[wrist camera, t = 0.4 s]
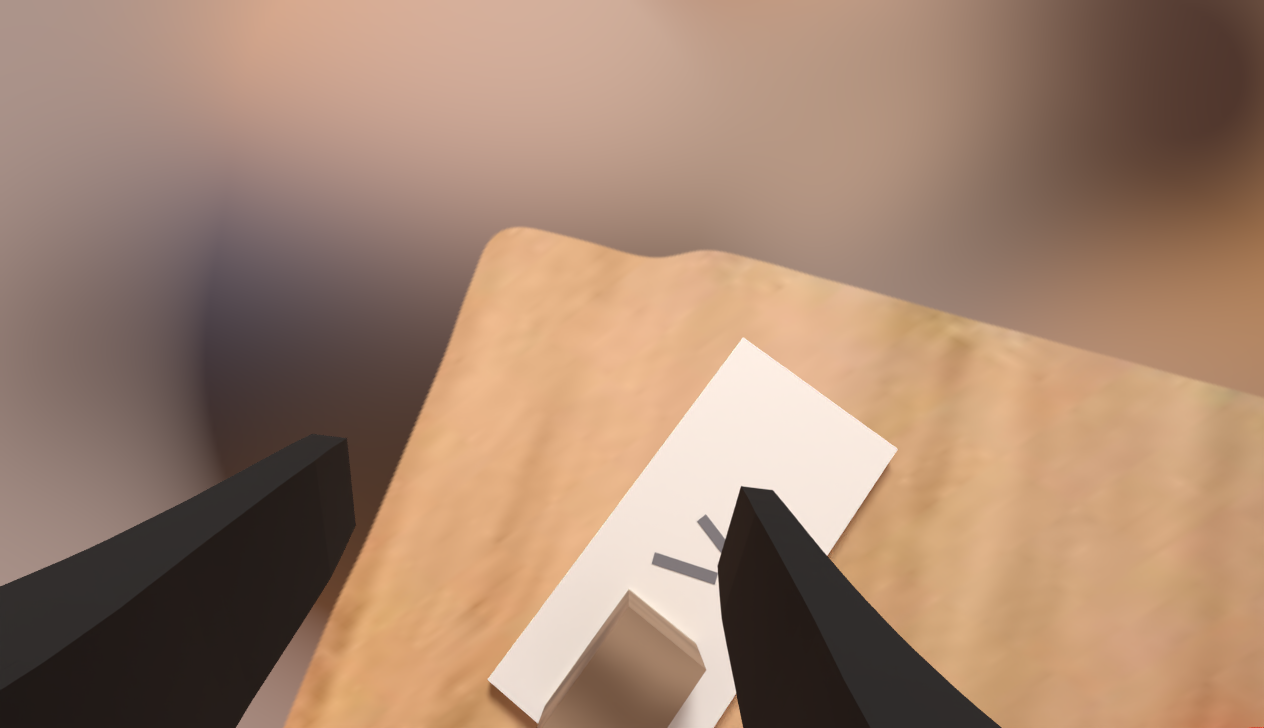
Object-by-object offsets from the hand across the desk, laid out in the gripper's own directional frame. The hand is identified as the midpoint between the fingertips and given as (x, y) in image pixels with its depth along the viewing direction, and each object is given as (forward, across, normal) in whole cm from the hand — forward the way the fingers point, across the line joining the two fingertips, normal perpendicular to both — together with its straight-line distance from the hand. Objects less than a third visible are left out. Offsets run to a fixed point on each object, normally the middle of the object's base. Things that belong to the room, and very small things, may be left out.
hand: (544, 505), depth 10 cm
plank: (+18, -8, +18) cm, 27 cm away
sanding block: (+13, -4, +23) cm, 27 cm away
